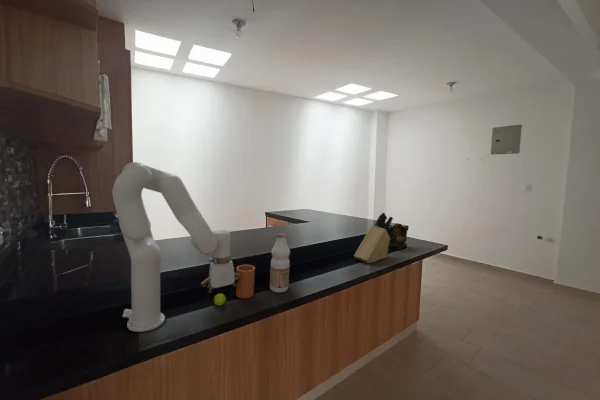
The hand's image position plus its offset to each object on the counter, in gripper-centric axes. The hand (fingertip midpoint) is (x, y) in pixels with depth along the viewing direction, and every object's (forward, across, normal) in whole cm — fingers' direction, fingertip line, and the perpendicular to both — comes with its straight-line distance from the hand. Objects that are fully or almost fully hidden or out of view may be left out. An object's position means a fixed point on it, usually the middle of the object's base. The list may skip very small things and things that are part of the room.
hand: (221, 296), depth 127 cm
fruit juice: (+5, +30, +1) cm, 31 cm away
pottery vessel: (+8, +152, +20) cm, 153 cm away
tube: (+4, +13, +4) cm, 14 cm away
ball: (+1, -1, 0) cm, 1 cm away
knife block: (+7, +115, +11) cm, 116 cm away
